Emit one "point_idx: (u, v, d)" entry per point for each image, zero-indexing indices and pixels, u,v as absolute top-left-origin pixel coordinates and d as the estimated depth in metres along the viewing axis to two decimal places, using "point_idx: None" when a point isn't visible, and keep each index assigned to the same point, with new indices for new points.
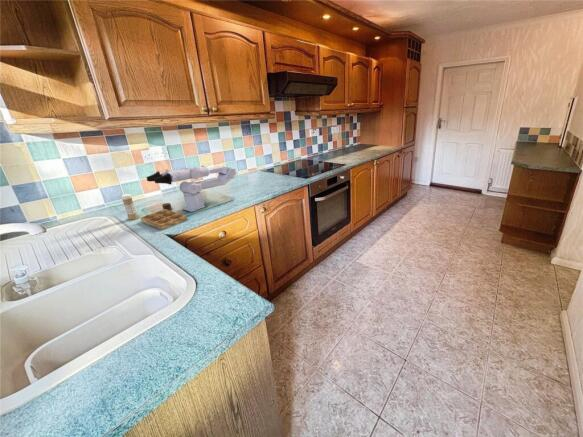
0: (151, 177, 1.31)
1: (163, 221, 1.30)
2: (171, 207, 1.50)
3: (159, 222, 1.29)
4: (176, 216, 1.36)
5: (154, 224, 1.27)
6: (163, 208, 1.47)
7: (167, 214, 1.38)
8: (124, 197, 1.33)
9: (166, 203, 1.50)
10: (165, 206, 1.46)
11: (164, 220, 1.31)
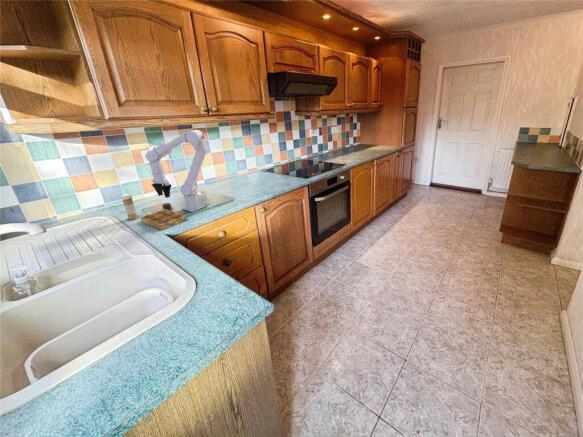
0: (159, 192, 1.47)
1: (163, 221, 1.30)
2: (171, 207, 1.50)
3: (159, 222, 1.29)
4: (176, 216, 1.36)
5: (154, 224, 1.27)
6: (163, 208, 1.47)
7: (167, 214, 1.38)
8: (124, 197, 1.33)
9: (166, 203, 1.50)
10: (165, 206, 1.46)
11: (164, 220, 1.31)
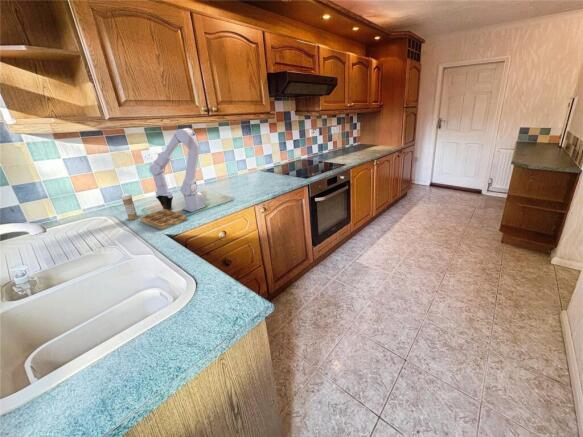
0: None
1: (163, 221, 1.30)
2: None
3: (159, 222, 1.29)
4: (176, 216, 1.36)
5: (154, 224, 1.27)
6: (163, 208, 1.47)
7: (167, 214, 1.38)
8: (124, 197, 1.33)
9: None
10: (165, 206, 1.46)
11: (164, 220, 1.31)
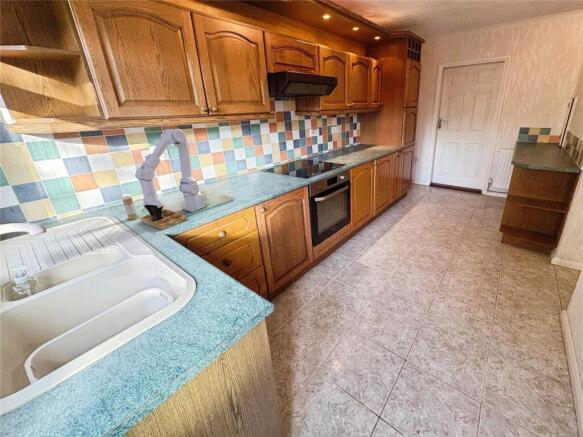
0: (152, 213, 1.31)
1: (163, 221, 1.30)
2: None
3: (159, 222, 1.29)
4: (176, 216, 1.36)
5: (154, 224, 1.27)
6: (152, 219, 1.29)
7: (167, 214, 1.38)
8: (124, 197, 1.33)
9: None
10: (154, 216, 1.28)
11: (164, 220, 1.31)
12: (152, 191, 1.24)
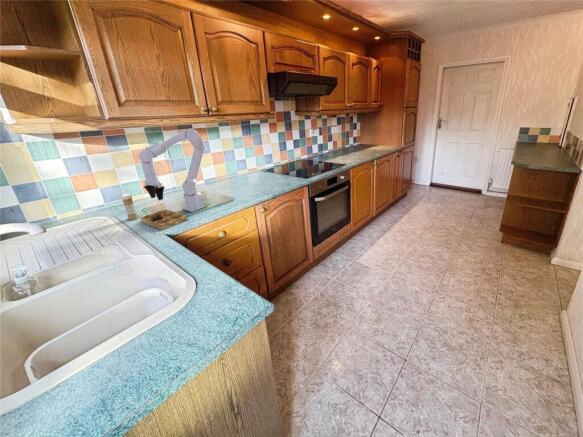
0: (151, 194, 1.40)
1: (163, 221, 1.30)
2: (161, 218, 1.32)
3: (159, 222, 1.29)
4: (176, 216, 1.36)
5: (154, 224, 1.27)
6: (152, 220, 1.29)
7: (167, 214, 1.38)
8: (124, 197, 1.33)
9: (156, 214, 1.32)
10: (154, 218, 1.29)
11: (164, 220, 1.31)
12: (149, 173, 1.31)
